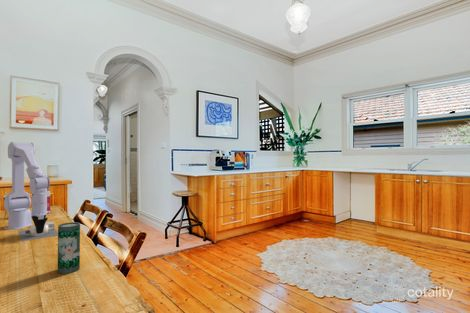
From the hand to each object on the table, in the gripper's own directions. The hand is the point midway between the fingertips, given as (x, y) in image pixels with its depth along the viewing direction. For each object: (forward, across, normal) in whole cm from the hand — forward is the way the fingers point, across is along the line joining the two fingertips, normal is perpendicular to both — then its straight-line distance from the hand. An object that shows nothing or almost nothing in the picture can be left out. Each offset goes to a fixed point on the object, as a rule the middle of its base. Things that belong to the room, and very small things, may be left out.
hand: (39, 232), depth 125 cm
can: (+2, -52, -4) cm, 52 cm away
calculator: (+2, +51, -6) cm, 51 cm away
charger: (+1, +8, -4) cm, 9 cm away
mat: (+2, +3, 0) cm, 3 cm away
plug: (+1, 0, 0) cm, 1 cm away
